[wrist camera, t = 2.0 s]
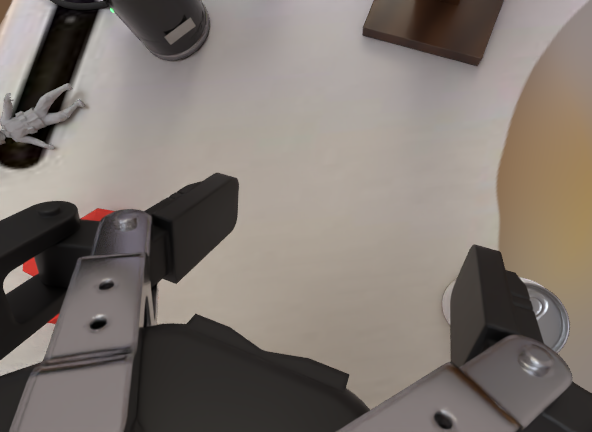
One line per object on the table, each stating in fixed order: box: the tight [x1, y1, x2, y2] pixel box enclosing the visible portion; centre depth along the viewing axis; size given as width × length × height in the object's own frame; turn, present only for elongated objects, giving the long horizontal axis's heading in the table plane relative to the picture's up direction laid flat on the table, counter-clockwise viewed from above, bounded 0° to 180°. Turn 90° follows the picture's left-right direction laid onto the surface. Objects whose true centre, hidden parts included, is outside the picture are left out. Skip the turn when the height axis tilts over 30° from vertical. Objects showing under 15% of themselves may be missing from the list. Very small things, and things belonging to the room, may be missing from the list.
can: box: [442, 277, 570, 353], centre depth 32 cm, size 6×6×12 cm
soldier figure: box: [0, 83, 85, 149], centre depth 47 cm, size 8×5×12 cm
